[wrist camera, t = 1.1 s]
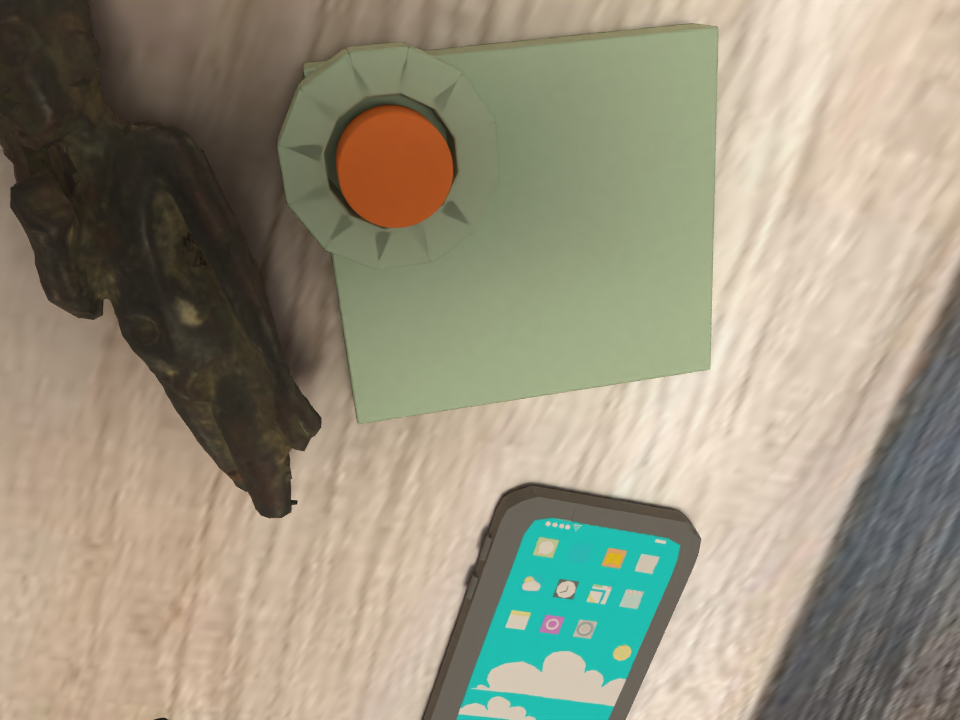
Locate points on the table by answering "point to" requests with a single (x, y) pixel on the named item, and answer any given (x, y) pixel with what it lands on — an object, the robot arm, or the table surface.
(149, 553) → the table surface
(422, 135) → the button
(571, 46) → the scale
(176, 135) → the statue
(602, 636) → the smartphone
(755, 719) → the table surface
